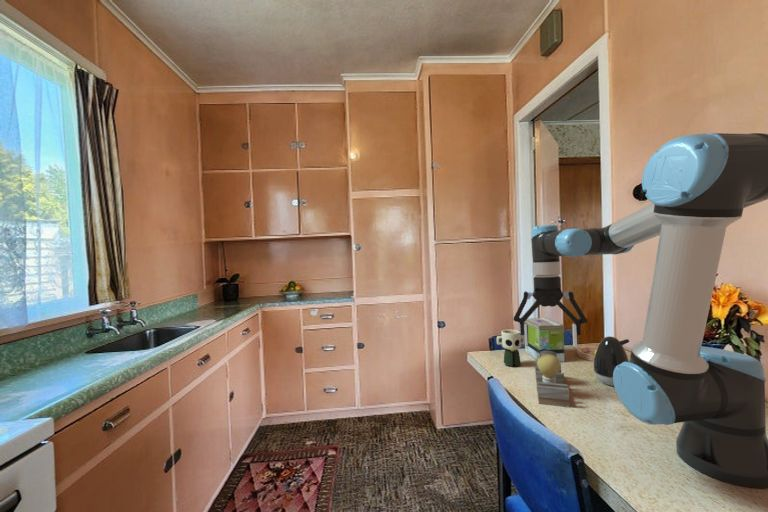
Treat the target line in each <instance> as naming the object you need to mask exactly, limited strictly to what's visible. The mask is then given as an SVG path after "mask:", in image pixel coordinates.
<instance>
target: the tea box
mask: <svg viewBox="0 0 768 512" xmlns="http://www.w3.org/2000/svg"><path fill="white" fill-rule="evenodd" d="M525 322H526V323H527V343H528V345H525V344H524V348H525V352H526V353H527V354H528V355H530V356H531V357H532V358H534V360H537V361H538V358H539V357H540V352H541V351H553V352H556V354H557V358H558V360H559V362H560V363H563V362H565V337H564V336H565V333H564V332H565V329H564V324H562V323H559V322H558V321H555V320H553V319H550V318H547V317H537V318H536V317H535V318H534V317H532V318H531V317H530V318H528V319H527V320H526V321H525Z"/></svg>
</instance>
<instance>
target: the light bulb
mask: <svg viewBox="0 0 768 512" xmlns="http://www.w3.org/2000/svg"><path fill="white" fill-rule="evenodd" d="M536 362H537V366H538V368H539V370H540V371H541V373H542V374H543V376H542V378H543V382H544V383H555V384H556V377H555V375H556V374H557V373H558V371H559V369H560V364H561V362H559V360H558V358H557V357H555V356H554V355H551V354H543V355H541V356H540V357H539V358H538V360H537V361H536Z"/></svg>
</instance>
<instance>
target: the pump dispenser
mask: <svg viewBox="0 0 768 512" xmlns="http://www.w3.org/2000/svg"><path fill="white" fill-rule="evenodd" d="M628 343H630V340H629V339H628V338H626V339H623V340H619V339H618V338H617V337H615V336H605V337H603V338H602V339H601V341H600V342H599V343H598V345H597V347H598V348H597V351H596V354H595V353H594V355H595V359H594V361H593V372H594V373H595V376H596V378H597V379H598V380H599V381H600V382H601V383H603V384H604V385H608V386H612V387H614V383H613V372H614V369H615V367H616V366H617V365H620V364H621V363H623V362H629V361H630V359H629V357H628V353H627V351H626V350H625V347H624V346H623V345H626V344H628Z"/></svg>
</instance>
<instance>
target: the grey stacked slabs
mask: <svg viewBox="0 0 768 512" xmlns="http://www.w3.org/2000/svg"><path fill="white" fill-rule="evenodd" d="M543 354H551V355H554V356H555V357H557V354H556V352H553V351H541V352H540V356H541V355H543ZM561 365H562V364H561V363H560V369H559V371H558V373H557V374H556V375H555V377H556V384H555V383H544V382H543V378H542V376H543V374H542V373H541V371H540V370H539V368H538V366H537V361H534V367H535V368H534V369H535V382H536V391H537V392H536V393H537V399H538V401H537V402H538V405H547V406H556V407H565V408H566V407H567V408H570V407H571V406H570V390H569V389H570V388H569V386H568V384H567V383H566V384H565V374H564V372H562V366H561Z"/></svg>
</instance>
